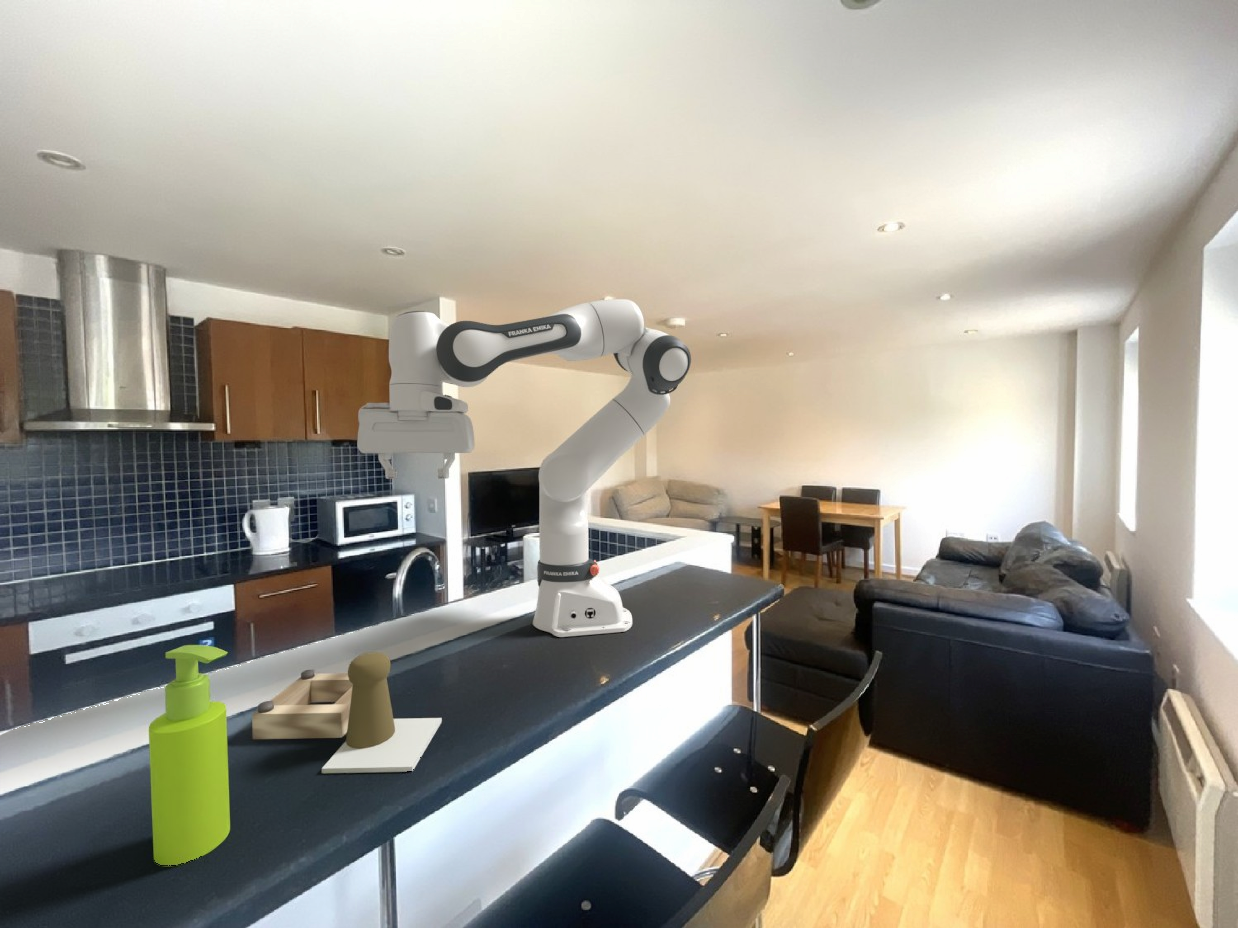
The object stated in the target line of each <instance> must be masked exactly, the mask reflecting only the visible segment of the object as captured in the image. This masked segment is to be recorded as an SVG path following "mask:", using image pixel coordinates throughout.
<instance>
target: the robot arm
mask: <svg viewBox="0 0 1238 928" xmlns="http://www.w3.org/2000/svg"><path fill="white" fill-rule="evenodd" d="M547 354H549V355H552V354H554V355H558V356H559V357H560V358H561V359H563V360H565V361H567V362H579V361H588V360H593V359H597V358H601V357H604V356H607V355H608V356H609V355H610V354H613V357H614V359H615V361H616V363H617V364H618V365H619V367H621V369H622V370H624V371H626V372H628V373H629V374H631V375H630V379H629V381H628V383H627V384H626V386H625V387H624V388H623V390H621V392H619V393H618V394H616V395H615V396H614V397H613V398H612V399H610V400H609V402H607V403H605V405H604V406H603V407H601V408H600V409H599V410H598V411H597V412H596V413H595V414H594V415H593V416H591V417H590V418H589V419H587V420H586V421H585V422H584V423H583V424H582V425H581V426H580V427H579V428H578V429H577V430H576V431H575V432H573V434H571V435H570V436H569V437H568V438H566V440H565V441H564V442H563V443H561V444H560V445H559V446H558V447H557V448H556V449H554V450H553V451H552V452H551V453H549V454H548V455H546V456H545V457H544V459H543V460H542V462H541V464H540V466H539V469H538V482H539V491H538V492H539V493H538V494H539V502H538V503H539V507H538V508H539V515H538V516H539V519H538V522H539V524H538V526H539V527H538V532H539V533H538V535H539V540H538V541H539V559H538V561H537V565H536V577H537V578H536V580H537V586H538V593H537V602H536V607H535V612H534V616H533V620H532V625H533V627H535V628H536V629H538V630H540V631H544V632H547V633H550V634H552V635H553V636H555V637H559V638H565V637H577V636H589V635H601V634H602V635H603V634H615V633H621V632H627V631H628V630H630V629H631V627H632V626H633V616H632V613H631V612H630V610H628V609H627V608H625V607H624V606H623V601H622V597H621V595H620V593H619V591H618V590H617V589H616V588H615V587H614V586H612V585H611V584H610V583H608V582H607V581H606V580H604V579H603V578H602V577H600V576H599V573H600V567H599V565H598V562H597V561H596V559H594V560H593V559H592V558H590V557H589V556H590V555H589V516H588V515H589V513H588V492H587V491H588V490H589V489H590V488H591V487H593V485H594V484H595V483H596V482H597V481H599V480H600V479H601V477H602V476H603V475H604V474H605V473H606V472H607V471H608V470H609V469H611V467H612V466H613V465H614V464H615V463H616V462H617V461H618V459H619V460H620V458H621V457H622V456H623V455H624V454H625V453H626V452H628V451H629V450H630V449H631V448H632V447H633V446H635V444H636V443H638V442H639V441H640V440H641V439H642V438H643V437H644V436H646V435H647V433H649V432H650V430H652V429H653V428H654V426H655V425H656V424H657V423H658V422H659V421H660V420H661V419H662V418H663V416H664V415H665V414H666V412H667V411H668V409H670V408H669V407H670V405H671V396H670V394H671V393H673V392H674V391H676V389H678V386H679V385H680V384H681V383H682V382H683V380H684V379H685V378H686V376H687V374H688V372H689V370H690V368H691V364H692V355H691V351H690V349H689V348H688V346H687V345H686V344H685V343H684V342H683V341H682V340H681V339H679V338H678V337H676V336H674V335H670V334H669V333H666V332H663V331H662V330H659V329H653V328H650V327H646V326H645V320H644V316H643V312H642V311H641V309H640V306H639V305H637V304H636V302H635V301H633V300H631V299H626V298H610V299H609V298H608V299H601V300H600V299H599V300H594V301H589V302H584V303H580V304H576V305H572V306H570V307H566V308H564V309H561V310H560V311H557V312H554V313H552V314H549V315H547V316H543V317H538V318H532V319H527V320H521V321H516V322H510V323H506V324H488V323H483V322H479V321H474V320H461V321H456V322H453V323H451V324H448V323H447V322H444V321H443V320H442V319H440V318H439V317H438V316H437V315H436V314H435V313H433V312H430V311H426V310H415V311H408V312H404V313H401V314H399V315H397V316H396V317H395V318H394V319H393V320H392V322H391V325H390V330H389V339H388V363H389V366H390V369H391V376H390V379H389V388H388V389H389V402H376V403H375V402H367V403H365V405H364V404H363V405H362V406H361V407H360V408H359V410H358V414H357V417H358V419H357V420H358V423H359V425H358V431H357V440H356V441H357V449H358V450H359V451H360V453H362V454H377V455H378V457H377V458H378V461H379V463H380V464H381V466H382V468H383V469H384V473H385V477H384V478H385V479H387V480H390V479H391V480H392V479H393V480H395V479H398V468H394V467H393V466H392V464H391V462H390V461H389V460H391V459H392V454H443V460H446V461H445V463H444V465H443V466H442V468H437V478H438V479H442V480H443V479H449V478H450V468H451V467H452V465H453V463H454V462H455V459H456V454H471V453H472V451H473V450H474V448H475V434H474V426H473V421H472V420H471V418H470V416H468V415H467V413H468V411H469V404H468V403H467V402H466V401H463V400H461V399H459V398H454V397H453V396H451V395H449V394H443V391H442V389H443V388H442V387H443V386H442V385H443V383H446V384H451V385H455V386H458V387H462V388H472V387H475V386H478V385H480V384H482V383H483V382H484V381H486V380H487V378H488V377H489V375H492V373H493V372H494V371H496V370H497V369H498V368H499V367H501V366H503V365H505V364H506V363H509V362H513V361H518V360H523V359H527V358H530V357H531V358H532V357H535V356H540V355H547Z"/></svg>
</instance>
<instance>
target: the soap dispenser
mask: <svg viewBox="0 0 1238 928" xmlns="http://www.w3.org/2000/svg"><path fill="white" fill-rule="evenodd" d="M164 654H165V659H170V660H171V659H172V660H175V678H174V679H173V680H171V681H170V682H168V683H167V684H166V685H165V687H164V697H165V699H164V700H165V701H164V702H165V713H164V714H163V713H162V714H161V715H160V716H158V717H156V718H155V719H154V720H153V721H152V722H150V723H149V726H148V742H149V743H148V744H149V745H148V747H149V770H150V771H149V772H150V794H151V795H150V799H151V800H150V801H151V819H152V823H151V824H152V844H153V845H152V847H153V861H154V860H155V861H154V863H155V862H156V863H158V864H160V865H168V866H167V867H172V866H171V865H176V866H179V865H178V864H181V863H184V864H187V863H186V862H188V861H190V860H193V861H194V859H195V860H197V859H199V857H200V856H202V857H203V856H205V855H207V854H209V853H210V852H212V851H214V850H215V849H216V848H217V847H219V845H221V844H222V843H223V842H224V841H225V840H226V839H227V837H228V835H229V833H230V831H231V815H230V813H231V812H230V789H229V788H230V786H229V785H230V784H229V783H230V781H229V780H230V779H229V762H228V761H229V756H228V753H229V752H228V750H229V749H228V727H227V726H228V725H227V706H226V704H225V703H224V702H221V701H215V700H213V701H212V700H211V694H210V693H211V687H210V686H211V685H210V683H211V682H210V676H209V675H208V674H204V673H201V672H200V673H199V662H201V663H203V664H210V663H212V662H214V661H216V660H219V659H221V658H223V657H226V656H227V655H228V651H225V650H223V649H221V648H220V647H219V648H218V647H215V646H212V645H205V644H202V645H201V644H186V645H185V644H184V645H182V646H180V647H177V648H174V649H172V650H169V651H166V652H165V653H164ZM196 858H197V859H196ZM200 858H201V857H200ZM190 862H191V861H190ZM156 863H155V864H156ZM188 863H189V862H188ZM158 864H157V865H158ZM160 865H159V866H160ZM169 865H170V866H169ZM181 865H182V864H181Z"/></svg>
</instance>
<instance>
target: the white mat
mask: <svg viewBox="0 0 1238 928" xmlns="http://www.w3.org/2000/svg"><path fill="white" fill-rule="evenodd" d="M393 719H394V725H395V733H394V734H393V736H392V737H391V738H390V739H388V740H387V741H385V742H383V743H382V744H379V745H376V746H374V747H369V748H362V749H356V748H351V747H349V746H348V745H347V743H346V740H345V742H343V743H342V744H341V746H340V747H339V748H338V749H337V750H336V752H335V753H334V754H333V755H332V756H331V757H330V759H329V760H327V762H326V763H325V764H324V765H323V766H322V767H321V774H344V773H345V774H356V773H357V774H358V773H402V772H406V773H407V771H412V772H413V771H414V770H415V768H416V767H417V765H418V763H419V761H420V760H421V758H422V756H423V755H424V752H425V751H426V750H427V748H428V746H429V744H430V743H431V741H432V739H433V737H434V736H435V734H436V732H437V731H438V729H439V727H440V726H441V724H442V722H443V719H442V717H422V718H421V717H420V718H419V717H418V718H416V717H415V718H410V717H408V718H393ZM420 757H421V758H420ZM413 769H414V770H413Z"/></svg>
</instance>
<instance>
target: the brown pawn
mask: <svg viewBox="0 0 1238 928" xmlns="http://www.w3.org/2000/svg"><path fill="white" fill-rule="evenodd" d="M390 671H391V660H390V658H389V656H388V655H387V654H386V653H383V652H380V651H379V652H378V651H377V652H376V651H375V652H374V651H372V652H367V653H363V654H360V655H358V656H357V657H355V658H353V659H352V660H351V662H349V666H348V669H347V673H348V677H349V680H350V682H351V683H352V684H353V687H352V695H351V704H350V712H349V720H348V728H347V732H346V738H345V741H346V743H347V745H348V746H349V747H351V748H356V749H362V748H369V747H374V746H376V745H379V744H382V743H383V742H385V741H387V740H388V739H390V738H391V737H392V736H393V734H394V733H395V725H394V719H395V718H394V715H393V708H392V703H391V697H390V691H389V685H388V680H387V679H388V678H387V677H388V676H389V675H390Z"/></svg>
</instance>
